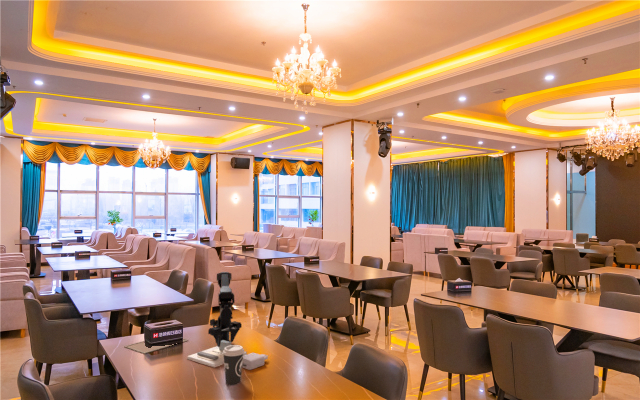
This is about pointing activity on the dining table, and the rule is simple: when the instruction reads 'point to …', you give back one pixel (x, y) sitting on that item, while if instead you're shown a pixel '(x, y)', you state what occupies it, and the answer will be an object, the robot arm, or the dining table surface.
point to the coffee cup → (233, 363)
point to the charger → (253, 361)
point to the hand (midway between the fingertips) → (225, 344)
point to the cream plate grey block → (222, 346)
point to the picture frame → (143, 349)
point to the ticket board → (210, 363)
